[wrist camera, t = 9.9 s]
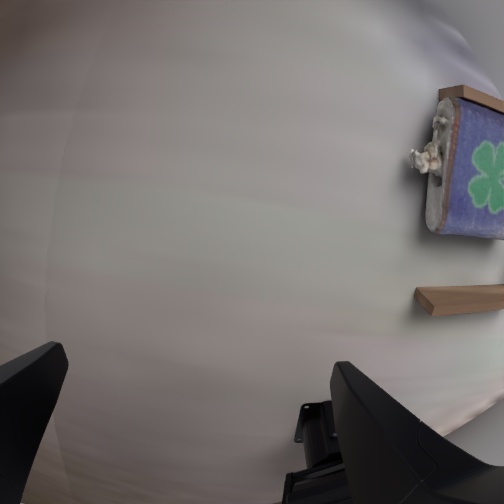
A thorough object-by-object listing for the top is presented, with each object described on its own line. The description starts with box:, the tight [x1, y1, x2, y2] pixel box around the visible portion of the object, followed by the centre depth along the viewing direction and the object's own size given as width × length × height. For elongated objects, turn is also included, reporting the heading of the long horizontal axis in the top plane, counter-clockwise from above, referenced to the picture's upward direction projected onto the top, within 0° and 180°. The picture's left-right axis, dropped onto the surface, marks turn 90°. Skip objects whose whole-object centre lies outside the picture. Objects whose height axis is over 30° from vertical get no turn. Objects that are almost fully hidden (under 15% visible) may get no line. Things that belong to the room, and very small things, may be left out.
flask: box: [409, 96, 504, 240], centre depth 16 cm, size 9×3×11 cm
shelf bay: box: [414, 85, 504, 316], centre depth 17 cm, size 16×12×3 cm
